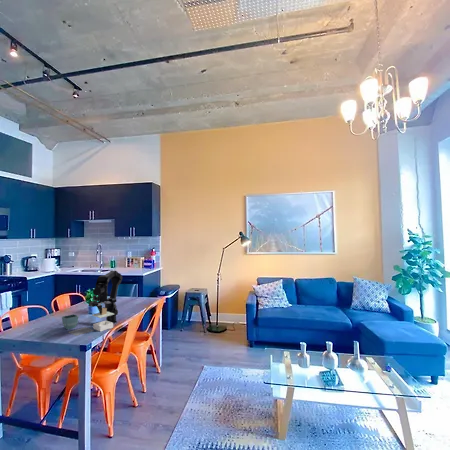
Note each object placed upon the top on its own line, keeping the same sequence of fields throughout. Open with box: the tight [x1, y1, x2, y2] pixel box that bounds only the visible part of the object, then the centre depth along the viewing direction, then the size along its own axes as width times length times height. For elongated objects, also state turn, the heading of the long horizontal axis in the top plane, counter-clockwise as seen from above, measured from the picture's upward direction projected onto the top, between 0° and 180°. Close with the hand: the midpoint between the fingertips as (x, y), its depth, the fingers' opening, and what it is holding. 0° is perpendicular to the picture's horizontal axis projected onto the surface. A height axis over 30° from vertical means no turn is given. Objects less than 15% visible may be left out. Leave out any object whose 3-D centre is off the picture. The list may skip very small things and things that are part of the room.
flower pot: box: [61, 314, 79, 330], centre depth 207 cm, size 9×9×9 cm
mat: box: [67, 326, 95, 337], centre depth 199 cm, size 13×13×1 cm
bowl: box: [92, 320, 114, 332], centre depth 205 cm, size 10×10×4 cm
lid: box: [92, 306, 114, 319], centre depth 205 cm, size 11×11×5 cm
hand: (103, 313), depth 205 cm, fingers closed on lid, 3 cm apart
